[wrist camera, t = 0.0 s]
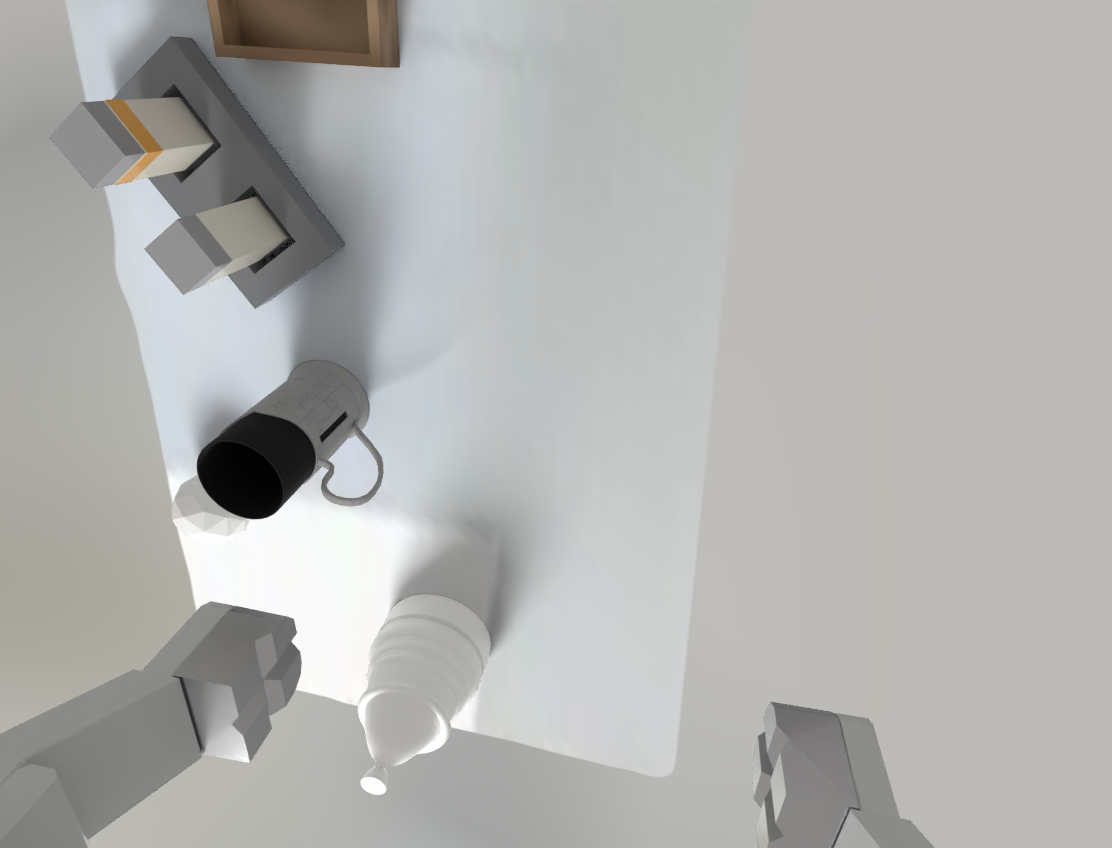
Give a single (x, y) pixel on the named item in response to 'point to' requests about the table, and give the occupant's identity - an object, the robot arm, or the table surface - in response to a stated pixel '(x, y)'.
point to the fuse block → (234, 168)
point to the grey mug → (287, 442)
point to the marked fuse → (134, 139)
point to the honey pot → (419, 680)
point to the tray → (307, 31)
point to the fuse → (217, 243)
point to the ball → (204, 516)
